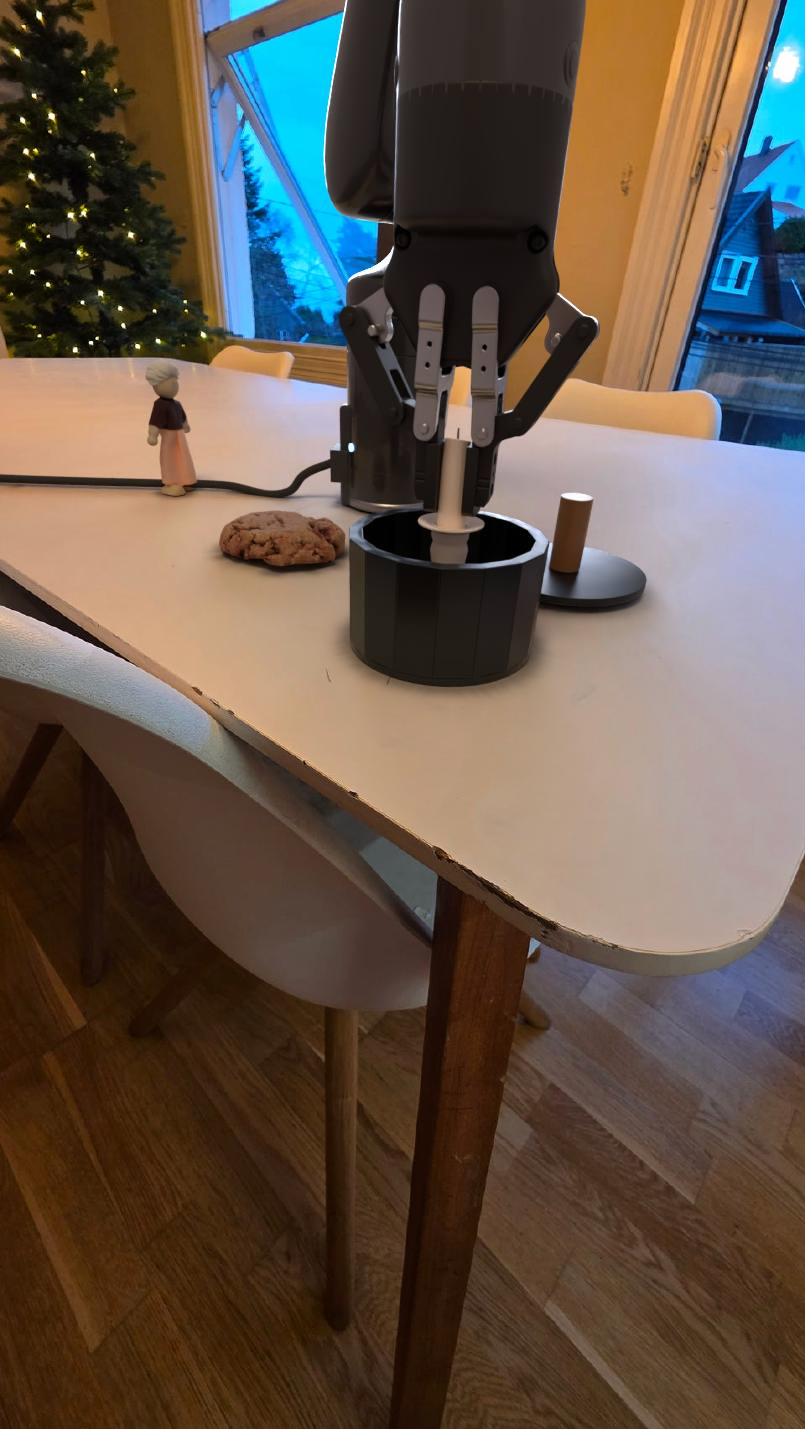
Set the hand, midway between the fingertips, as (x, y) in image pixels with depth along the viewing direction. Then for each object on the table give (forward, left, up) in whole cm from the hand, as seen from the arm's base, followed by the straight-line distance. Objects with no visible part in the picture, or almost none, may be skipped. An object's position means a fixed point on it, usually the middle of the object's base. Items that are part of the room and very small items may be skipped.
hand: (451, 509), depth 36 cm
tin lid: (+6, +14, -8) cm, 17 cm away
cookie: (-17, +11, -9) cm, 22 cm away
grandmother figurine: (-37, +25, -9) cm, 45 cm away
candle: (0, 0, -6) cm, 6 cm away
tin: (0, 0, -8) cm, 8 cm away
